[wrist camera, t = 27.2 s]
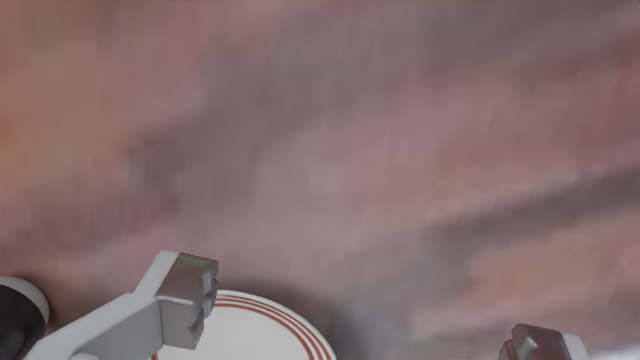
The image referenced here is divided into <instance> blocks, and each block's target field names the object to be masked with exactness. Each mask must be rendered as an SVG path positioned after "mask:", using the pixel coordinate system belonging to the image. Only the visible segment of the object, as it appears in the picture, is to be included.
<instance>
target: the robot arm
mask: <svg viewBox="0 0 640 360" xmlns="http://www.w3.org/2000/svg"><path fill="white" fill-rule="evenodd" d="M217 272H218V261H216V260H211V259H207V258H203V257H199V256H194V255H190V254H186V253H180V252H176V251H172V250H167V249H163V250H162V251H160V252H159V253H158V255H157V256H156V258H155V259H154V261H153V263H152V264H151V266H150V267H149V269H148V270H147V272H146V273H145V275H144V276H143V278H142V280H141V281H140V283H139V284H138V286H137V287H136V289H135V290H134V292H133V293H128V292H127V293H125V294H123V295H121V296H120V297H118V298H116V299H114V300H112V301H110V302H109V303H107V304H105V305H103V306H101V307H99V308H98V309H96V310H94V311H92V312H90V313H88V314H87V315H85V316H83V317H81V318H79V319H77V320H76V321H74V322H72V323H70V324H68V325H66V326H65V327H63V328H61V329H59V330H57V331H55V332H54V333H52V334H50V335H48V336H46V337H44V338H43V339H41V340H39V341H37V343H36V344H35V345H34V346H33V348H32V349H31V350H30V351H29V353H28V354H27V355H26V357H25V358H24V359H23V360H147V359H148V358H150V357H151V356H152V355H153V354H155V353H156V352H157V351H158V350H160V349H161V348H162V347H163V345H167V346H173V347H178V348H184V349H189V350H194V351H195V349H196V347H197V344H198V342H199V340H200V338H201V335H202V333H203V331H204V319H206V318H207V317H209V316H210V314H211V312H212V309H213V307H214V303H215V300H216V296H217V290H218V281H217V280H216V279H215V277H216V274H217ZM511 333H512V336H513V338H512V339H510V340H508V341H505V342H504V344H503V346H502V348H501V349H500V354H499V359H498V360H590V358H589V355H588V353H587V351H586V348H585V346H584V344H583V341H582V339H581V338H580V337H579V336H578V335H576V334H571V333H567V332H562V331H556V330H552V329H547V328H542V327H537V326H532V325H527V324H522V323H519V324H517V325H515V326H514V328H513V330H512V331H511Z"/></svg>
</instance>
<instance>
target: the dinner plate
mask: <svg viewBox="0 0 640 360" xmlns="http://www.w3.org/2000/svg"><path fill="white" fill-rule="evenodd" d="M147 360H337V358H336V356H335V354H334V352H333V350H332V348H331V346H330V345H329V343H328V342H327V341H326V339H325V338H324V337H323V336H322V334H321V333H320V332H319V331H318V330H317V329H316V328H315V327H314V326H313V325H312V324H310V323H309V322H308V321H307V320H305V319H304V318H303V317H301V316H300V315H298V314H297V313H295V312H293V311H292V310H290V309H288V308H286V307H284V306H282V305H281V304H278V303H276V302H274V301H271V300H269V299H266V298H263V297H260V296H257V295H253V294H249V293H244V292H238V291H231V290H217V296H216V300H215V303H214V307H213V309H212V312H211V314H210V316H209V317H207V318H206V319H204V331H203V333H202V335H201V338H200V340H199V342H198V344H197V347H196V349H195V351H194V350H189V349H184V348H178V347H173V346H167V345H163V347H162V348H161V349H160V350H158V351H157V352H156V353H155V354H153V355H152V356H151V357H150V358H148V359H147Z"/></svg>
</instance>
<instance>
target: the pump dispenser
mask: <svg viewBox="0 0 640 360" xmlns="http://www.w3.org/2000/svg"><path fill="white" fill-rule="evenodd" d="M48 319H49V306H48V302H47V300H46V298H45V296H44V295H43V293H42V292H41V291H40V290H39V289H38V288H37V287H36V286H34V285H33V284H31V283H30V282H28V281H26V280H23V279H20V278H16V277H8V276H3V277H0V360H23V359H24V358H25V357H26V355H27V354H28V353H29V351H30V350H31V349H32V348H33V346H34V345H35V344H36V343H37V341H39V340H41V339H42V338H43V337H44V334H45V330H46V326H47V323H48Z"/></svg>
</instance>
